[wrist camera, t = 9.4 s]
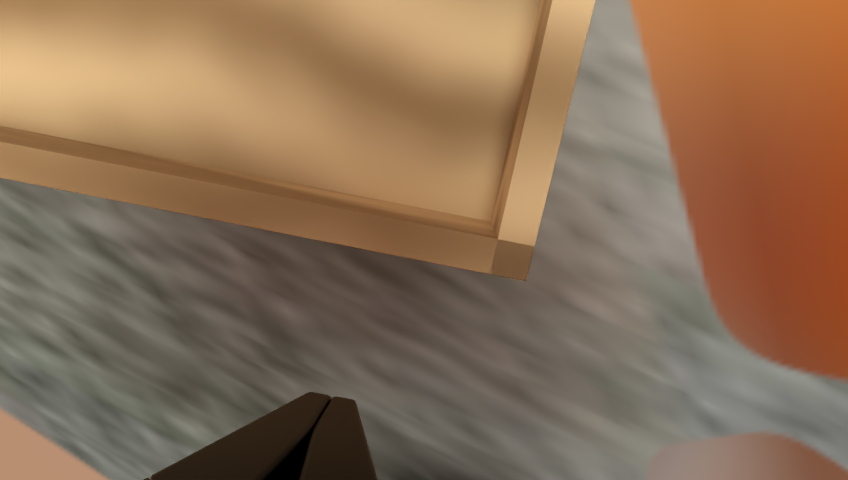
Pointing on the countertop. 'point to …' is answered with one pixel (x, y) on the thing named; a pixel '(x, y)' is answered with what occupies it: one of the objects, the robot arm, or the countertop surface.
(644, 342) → the countertop surface
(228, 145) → the open box
